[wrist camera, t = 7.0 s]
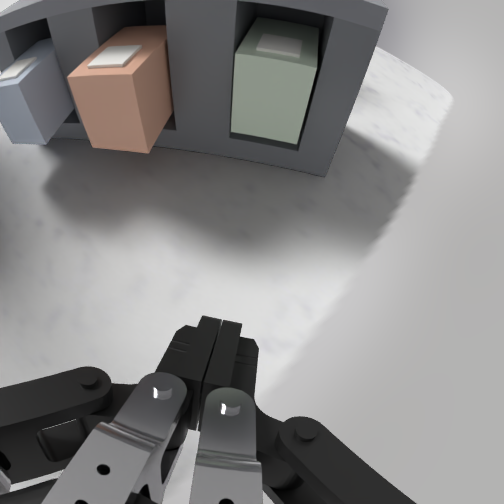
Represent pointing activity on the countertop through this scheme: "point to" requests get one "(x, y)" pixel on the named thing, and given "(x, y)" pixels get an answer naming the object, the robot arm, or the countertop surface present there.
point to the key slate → (34, 95)
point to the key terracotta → (125, 89)
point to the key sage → (274, 79)
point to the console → (213, 64)
